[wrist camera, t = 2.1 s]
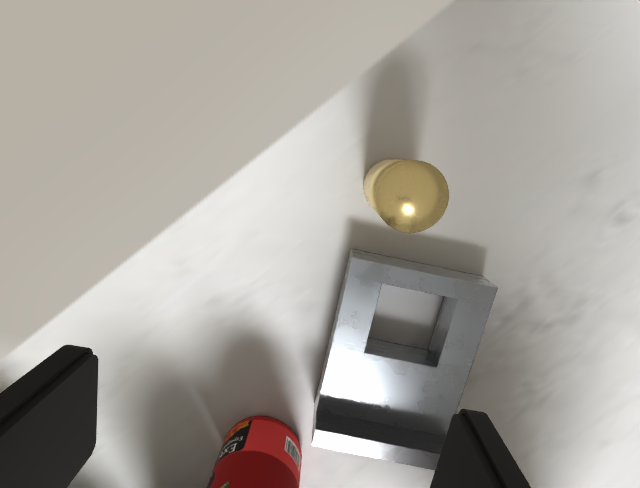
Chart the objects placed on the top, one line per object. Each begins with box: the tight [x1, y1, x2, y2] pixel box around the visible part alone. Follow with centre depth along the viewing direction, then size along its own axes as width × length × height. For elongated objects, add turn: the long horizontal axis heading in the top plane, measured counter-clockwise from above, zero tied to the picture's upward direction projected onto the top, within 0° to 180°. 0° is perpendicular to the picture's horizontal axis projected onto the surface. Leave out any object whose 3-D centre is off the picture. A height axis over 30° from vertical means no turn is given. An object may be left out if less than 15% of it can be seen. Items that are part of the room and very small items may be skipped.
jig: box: [312, 249, 498, 470], centre depth 32 cm, size 12×16×5 cm
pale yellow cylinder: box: [364, 159, 449, 233], centre depth 27 cm, size 4×4×9 cm
